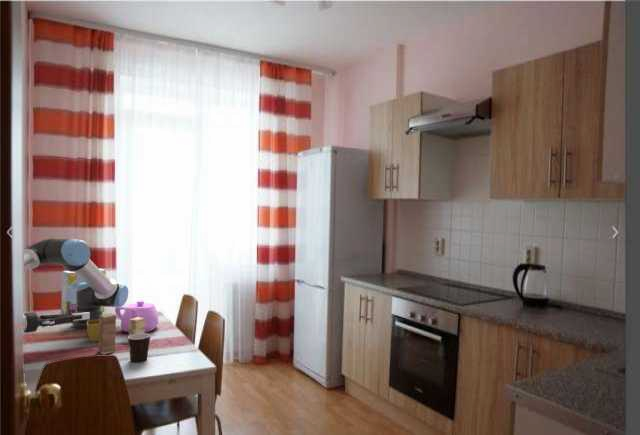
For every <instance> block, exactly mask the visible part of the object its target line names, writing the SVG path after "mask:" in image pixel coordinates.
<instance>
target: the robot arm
mask: <svg viewBox="0 0 640 435" xmlns="http://www.w3.org/2000/svg"><path fill="white" fill-rule="evenodd" d="M23 249H24V273H25V272H27V271H29V270H30V269H36V268H38V267H39V266H42V265H60V266H62V267H63V268H64V270H65V271H70V272H75V273H76V274H77V275H78V276H79V277H80V278H81V279H82V280H83V281H85V282H84V283H80V284H78V285H77V291H76V314H72V315H71V312H69V314H61V313H58V314H46V315H45V314H40V315H39V316H38V313H37V312H35V311H34V312H24V313H23V331H24V332H23V333H24V334H26V333H27V334H28V333H35V332H36V331H37V330H38V327H39V326H40V327H42V328H44V327H48V326H49V327H53V326H58V325H62V324H63V325H64V324H69V323H71V324H72V327H73V328H75V329H87V321H89V320H99V315H104V313H103V311H101V306H104V307H109V308H112V307H113V308H116V307H124V305H125V304H126V303H127V301H128V298H129V289H128V288H129V287H128V286H127V285H125V284H119V283H118V282H117V281H116V280H114V279H112V278H108V276H107V275H105V274H104V273H103V272H102V271H101V270H100V269H101V268H100V269H99V267H98V266H97V265H96V264H95V263H94V262H93V261H92V260H91V251H90V246H89V245H88V243H87V242H85V241H84V240H82V239H76V238H71V239H70V238H46V239H42V240H40V241H37V242H35V243H32V244H29V245H28V246H26V247H25V248H23Z"/></svg>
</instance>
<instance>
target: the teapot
mask: <svg viewBox="0 0 640 435" xmlns="http://www.w3.org/2000/svg"><path fill="white" fill-rule="evenodd" d="M122 310H124V312H123V314H122V313H121V311H122ZM114 312H115V315H116V317H118V319H119V320H120V321H121V322H120V328H121V330H122V332H125V333H128V334H129V319H132V318H136V317H140V318H145V333H148V332H151V331H153V330H155V328H156V327H157V325H158V324H159V314H158V310H157V309H156V306H155V304H154V303H151V302H145V301H144V300H137V301H136V302H135V303H131V304H128V305H127V306H122V307H114Z"/></svg>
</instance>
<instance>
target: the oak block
mask: <svg viewBox="0 0 640 435" xmlns="http://www.w3.org/2000/svg"><path fill="white" fill-rule="evenodd" d="M139 333H146V332H145V318H140V317H136V318H132V319H129V333H128V336H130V335H133V334H139Z"/></svg>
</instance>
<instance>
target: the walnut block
mask: <svg viewBox="0 0 640 435" xmlns="http://www.w3.org/2000/svg"><path fill="white" fill-rule="evenodd" d="M116 322H117V314H114V313H112V312H111V313H103V315H99V341H98V352H99V353H101V354H103V355H105V354H106V355H107V354H109V353H116V330H117V329H116V328H117V326H116V325H117V324H116Z"/></svg>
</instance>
